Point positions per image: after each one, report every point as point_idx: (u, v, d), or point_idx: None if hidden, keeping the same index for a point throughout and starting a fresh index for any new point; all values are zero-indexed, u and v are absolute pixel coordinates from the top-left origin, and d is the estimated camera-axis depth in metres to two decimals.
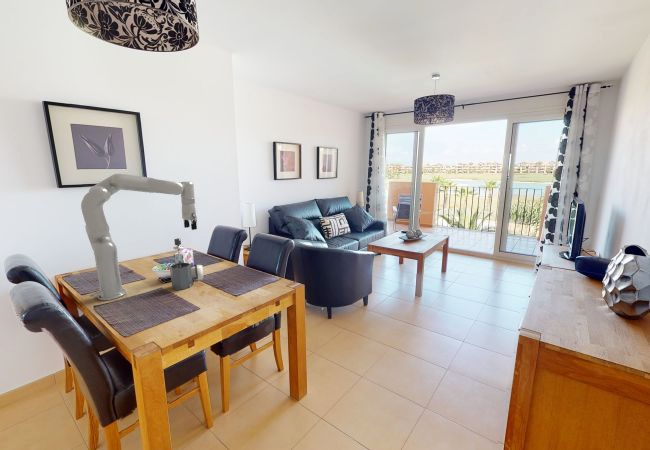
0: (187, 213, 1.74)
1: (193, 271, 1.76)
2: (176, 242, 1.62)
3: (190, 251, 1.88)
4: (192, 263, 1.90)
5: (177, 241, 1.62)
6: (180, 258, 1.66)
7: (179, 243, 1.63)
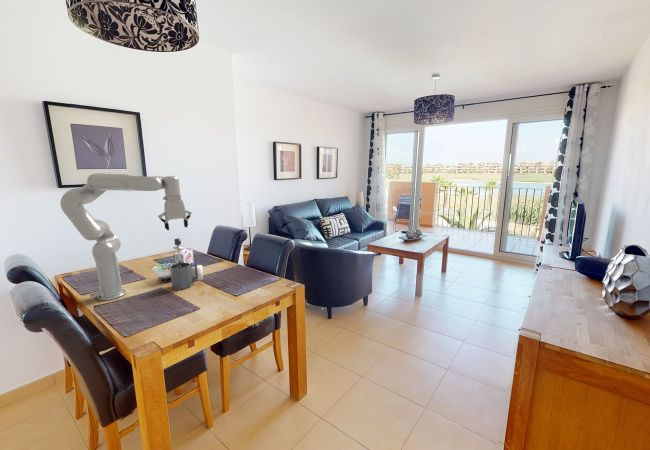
0: (183, 210, 1.61)
1: (193, 271, 1.76)
2: (176, 242, 1.62)
3: (190, 251, 1.88)
4: (192, 263, 1.90)
5: (177, 241, 1.62)
6: (180, 258, 1.66)
7: (179, 243, 1.63)
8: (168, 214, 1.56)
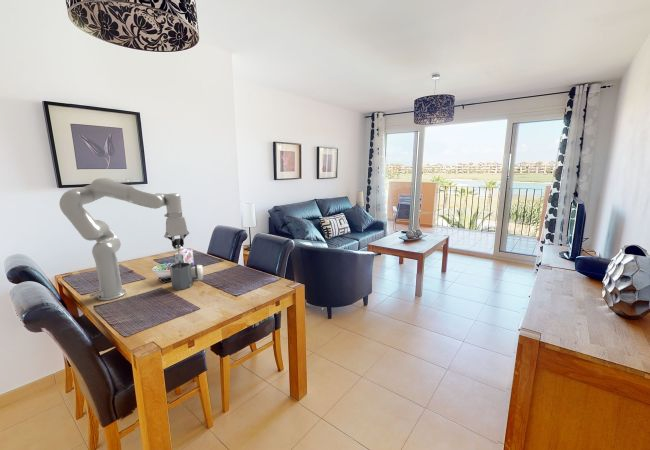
0: (184, 226, 1.63)
1: (193, 271, 1.76)
2: (176, 242, 1.62)
3: (190, 251, 1.88)
4: (192, 263, 1.90)
5: (177, 241, 1.62)
6: (180, 258, 1.66)
7: (179, 243, 1.63)
8: (169, 231, 1.58)
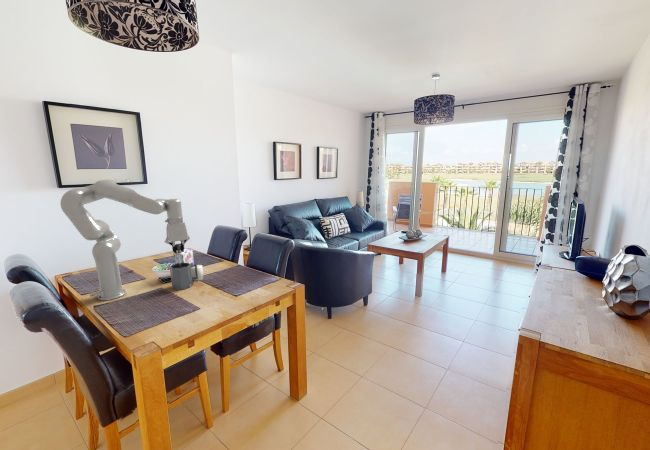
0: (184, 232, 1.63)
1: (193, 271, 1.76)
2: (177, 247, 1.63)
3: (190, 251, 1.88)
4: (192, 263, 1.90)
5: (178, 246, 1.63)
6: None
7: (180, 248, 1.64)
8: (170, 236, 1.58)
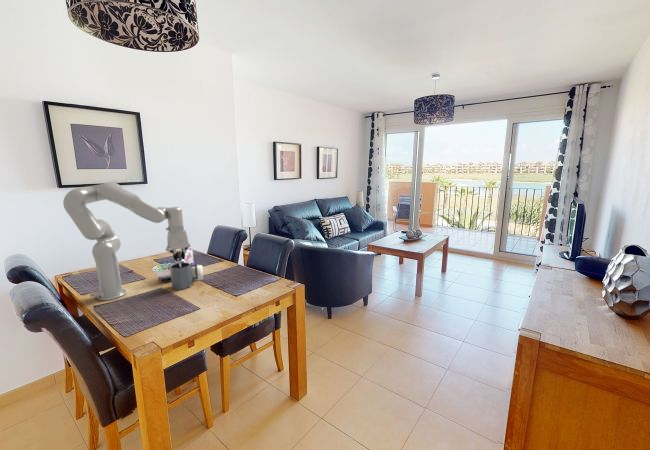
0: (185, 240, 1.64)
1: (193, 271, 1.76)
2: (178, 255, 1.64)
3: (190, 251, 1.88)
4: (192, 263, 1.90)
5: (178, 254, 1.64)
6: None
7: (180, 256, 1.65)
8: (171, 244, 1.59)
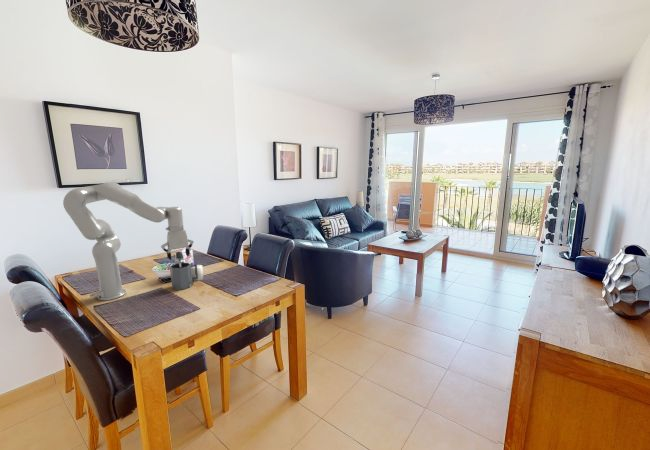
0: (185, 239, 1.64)
1: (193, 271, 1.76)
2: (178, 255, 1.64)
3: (190, 251, 1.88)
4: (192, 263, 1.90)
5: (178, 254, 1.64)
6: None
7: (180, 256, 1.65)
8: (171, 244, 1.59)
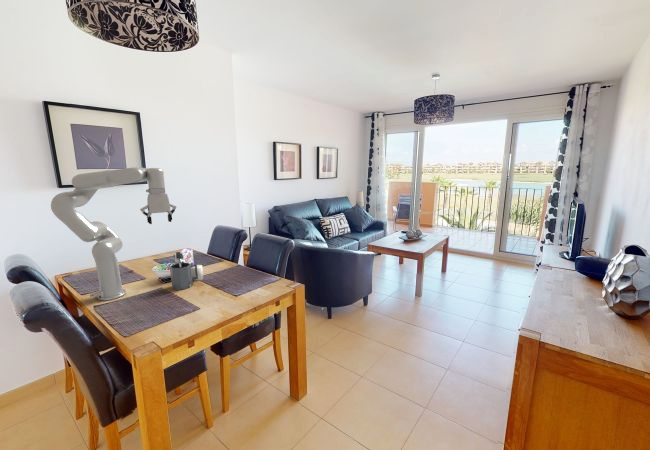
0: (167, 204, 1.55)
1: (193, 271, 1.76)
2: (178, 255, 1.64)
3: (190, 251, 1.88)
4: (192, 263, 1.90)
5: (178, 254, 1.64)
6: None
7: (180, 256, 1.65)
8: (151, 207, 1.50)
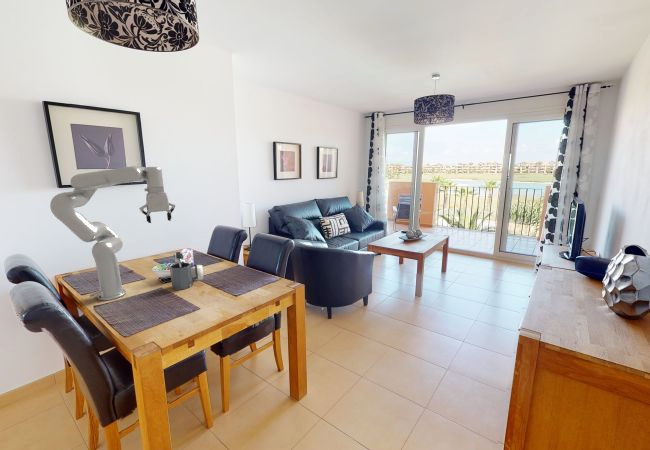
0: (166, 202, 1.54)
1: (193, 271, 1.76)
2: (178, 255, 1.64)
3: (190, 251, 1.88)
4: (192, 263, 1.90)
5: (178, 254, 1.64)
6: None
7: (180, 256, 1.65)
8: (150, 206, 1.49)
